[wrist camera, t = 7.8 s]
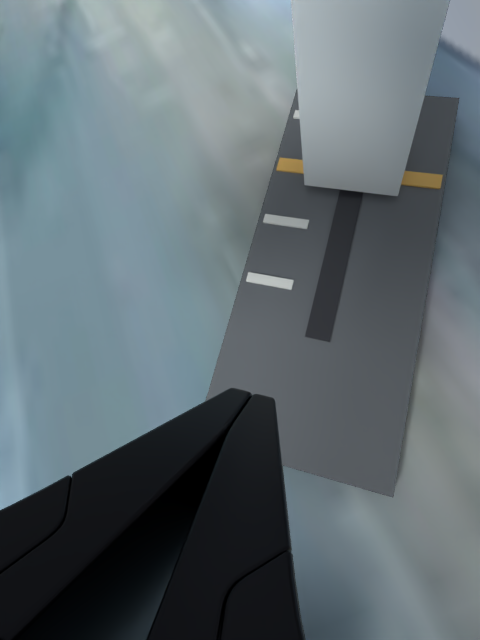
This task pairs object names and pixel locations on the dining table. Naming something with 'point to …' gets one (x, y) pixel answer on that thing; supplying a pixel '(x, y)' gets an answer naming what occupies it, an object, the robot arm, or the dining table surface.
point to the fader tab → (362, 87)
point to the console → (339, 307)
